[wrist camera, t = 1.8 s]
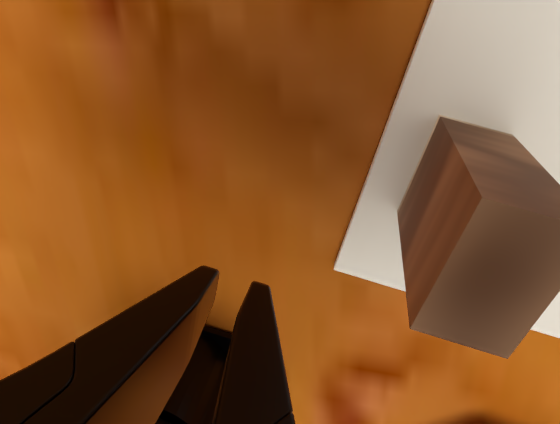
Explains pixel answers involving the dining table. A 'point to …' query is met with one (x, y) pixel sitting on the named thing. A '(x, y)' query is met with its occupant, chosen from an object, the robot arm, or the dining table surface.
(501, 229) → the walnut block
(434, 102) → the mat
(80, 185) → the dining table surface
